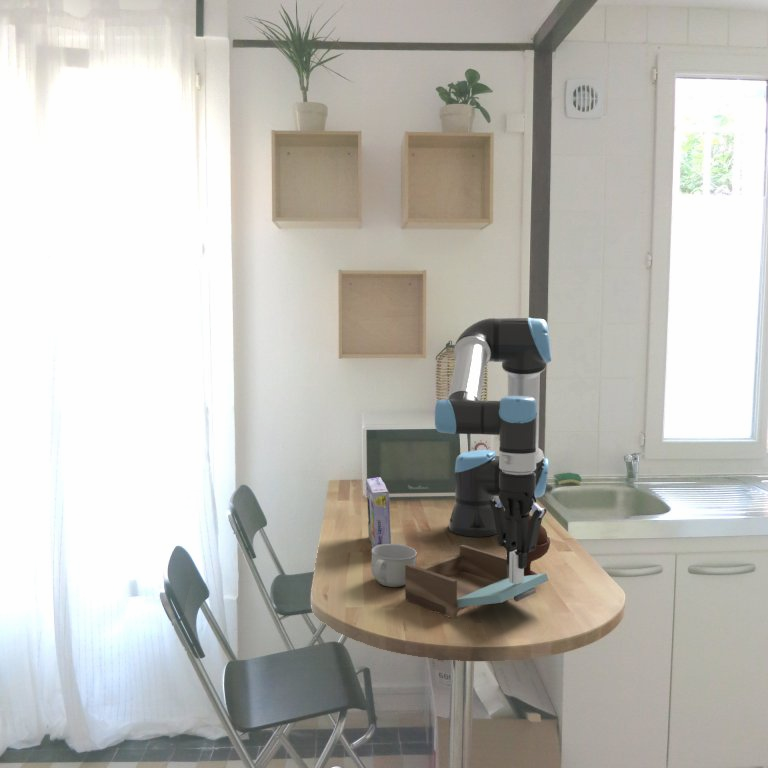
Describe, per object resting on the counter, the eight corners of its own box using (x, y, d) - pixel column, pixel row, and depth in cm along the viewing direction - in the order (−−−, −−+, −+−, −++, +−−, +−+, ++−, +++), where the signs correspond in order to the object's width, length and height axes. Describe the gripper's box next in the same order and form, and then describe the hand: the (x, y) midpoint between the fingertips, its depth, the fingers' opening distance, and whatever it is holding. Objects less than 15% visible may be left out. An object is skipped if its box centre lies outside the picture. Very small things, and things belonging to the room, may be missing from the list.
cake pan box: (366, 536, 207) (365, 476, 205) (383, 535, 208) (383, 475, 206) (373, 558, 188) (372, 492, 186) (392, 557, 189) (391, 491, 187)
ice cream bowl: (495, 577, 174) (495, 516, 173) (521, 565, 182) (522, 507, 181) (532, 588, 167) (533, 525, 165) (558, 576, 175) (559, 516, 173)
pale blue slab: (503, 578, 164) (546, 573, 155) (507, 591, 163) (550, 586, 155) (456, 599, 152) (499, 594, 144) (459, 612, 152) (503, 608, 143)
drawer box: (462, 576, 175) (462, 544, 174) (509, 592, 165) (510, 558, 164) (405, 599, 161) (405, 565, 160) (453, 618, 151) (453, 581, 150)
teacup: (390, 571, 179) (390, 539, 178) (425, 581, 172) (425, 548, 171) (353, 587, 168) (353, 554, 167) (389, 599, 161) (389, 564, 161)
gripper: (480, 469, 151) (480, 578, 153) (534, 478, 141) (533, 595, 143) (502, 464, 156) (501, 569, 158) (555, 472, 146) (553, 585, 148)
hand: (516, 581), depth 150 cm, fingers closed
